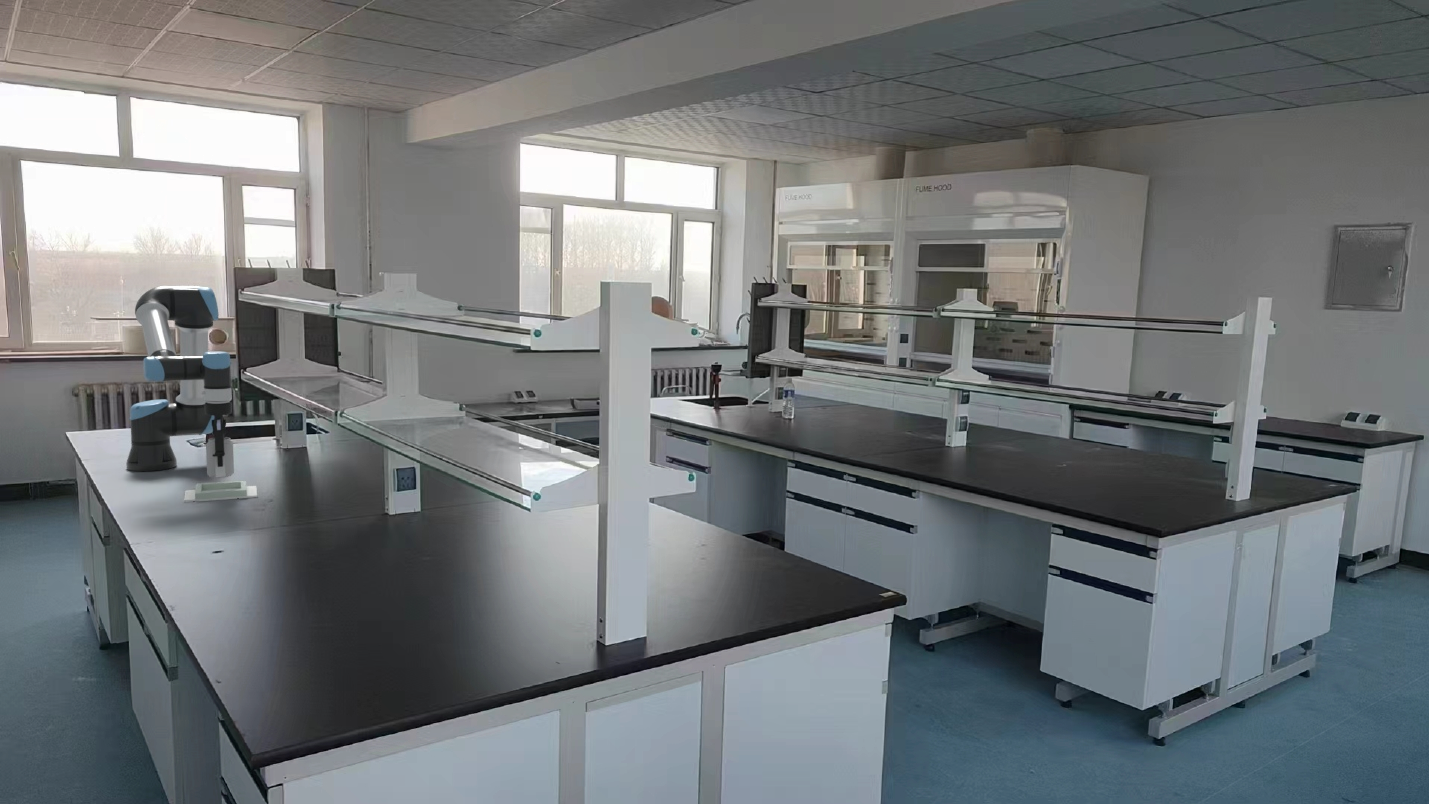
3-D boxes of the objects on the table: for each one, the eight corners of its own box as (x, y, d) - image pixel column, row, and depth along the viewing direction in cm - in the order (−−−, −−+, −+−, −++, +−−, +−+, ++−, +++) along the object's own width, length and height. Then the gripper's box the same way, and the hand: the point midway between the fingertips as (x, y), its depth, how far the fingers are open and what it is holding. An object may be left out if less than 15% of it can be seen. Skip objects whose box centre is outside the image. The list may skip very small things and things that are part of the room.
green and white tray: (185, 492, 295) (185, 484, 294) (256, 487, 304) (256, 480, 303) (183, 502, 282) (183, 494, 282) (257, 497, 291) (257, 489, 291)
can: (226, 478, 288) (224, 440, 287) (202, 478, 288) (200, 439, 287) (238, 473, 296) (237, 436, 294) (215, 473, 296) (214, 435, 294)
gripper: (205, 397, 296) (207, 468, 299) (203, 406, 278) (206, 481, 281) (231, 397, 300) (234, 467, 303) (231, 405, 282) (234, 479, 285)
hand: (220, 473), depth 292 cm, fingers closed on can, 7 cm apart
